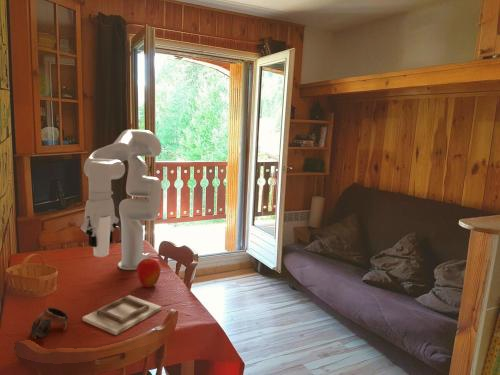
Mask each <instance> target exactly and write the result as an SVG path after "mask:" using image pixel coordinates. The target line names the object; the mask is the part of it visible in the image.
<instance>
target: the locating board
mask: <svg viewBox="0 0 500 375" xmlns="http://www.w3.org/2000/svg"><path fill="white" fill-rule="evenodd" d="M161 310H162V306H161V305H158V304H156V303H154V302H150V301H147V300H144V299H141V298H138V297H136V296H133V295H130V294H128V295H126V296H123V297H121V298H119V299H116V300H114V301H112V302H110V303H108V304H106V305H104V306H102V307H100V308H97V309H96V310H94V311H93V312H90V313H89V314H86V315H84V316H82V321H83V322H86V323H88V324H90V325H92V326H94V327H97V328H99V329H100V330H103V331H106V332H107V333H109V334H112V335H115V336H117V335H119V334H121V333H123V332H124V331H126V330H128V329H130V328H132V327H133V326H135V325H137V324H139V323H140V322H142V321H143V320H146V319H148V318H149V317H151V316H153V315H154V314H156V313H157V312H159V311H161Z"/></svg>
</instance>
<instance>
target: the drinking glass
mask: <svg viewBox="0 0 500 375" xmlns="http://www.w3.org/2000/svg"><path fill="white" fill-rule="evenodd" d="M91 227H92V226H91ZM92 230H93V229H92ZM110 230H111V217H110V216H108V217H102V218H99V225H98V228H96V233H95V236H96V241H97V246H96V247H92V249H93V256H94V257H96V258H104V257H107V256H108V255H109V254H110V243H111V242H110Z"/></svg>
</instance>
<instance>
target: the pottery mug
mask: <svg viewBox="0 0 500 375" xmlns="http://www.w3.org/2000/svg"><path fill="white" fill-rule="evenodd" d="M68 319H69V314H67V313H66V312H64V311H62V310H60V309H57V308H54V307H46V308H45V309H44V311H42V312H41V313H39V314H37V316H36V317H35V319H34V321H33V323H32V325H31V328H30V329H31V330H30V334H29V335H30V336H31V337H32V338H33V339H35V340H36V339H37V338H46V337H47V334H48V333H49V330H50V329H51V327H52V323H54V324H55V323H56V324H61V325H63V328H62V331H63V332H65V331H66V329H67V327H68Z"/></svg>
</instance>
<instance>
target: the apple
mask: <svg viewBox="0 0 500 375" xmlns="http://www.w3.org/2000/svg"><path fill="white" fill-rule="evenodd" d="M161 271H162V270H161V265H160V263H159V262H158V261H157V260H156V259H153V258H149V257H147V258H146V259H144V260H142V261H141V262H140V263H139V264H138V266H137V270H136V274H137V278H138V280H139V283H140V284H141V285H142V286H143V287H144V288H152V287H153V286H155V285H156V284H157V282H158V280H159V278H160V275H161Z"/></svg>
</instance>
